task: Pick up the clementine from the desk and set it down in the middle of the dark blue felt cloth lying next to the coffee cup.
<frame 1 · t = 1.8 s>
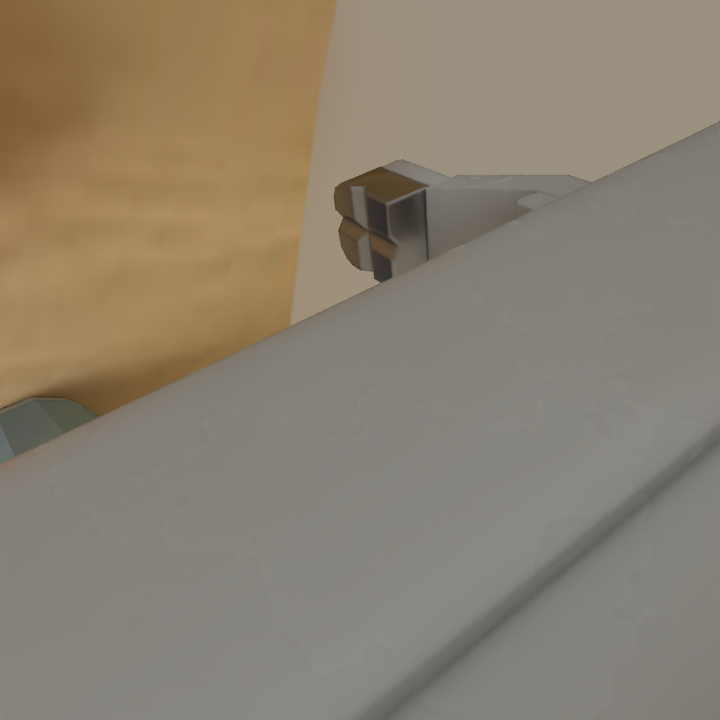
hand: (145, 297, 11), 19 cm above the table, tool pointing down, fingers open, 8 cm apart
disposable coffee cup: (40, 444, 33), on the table
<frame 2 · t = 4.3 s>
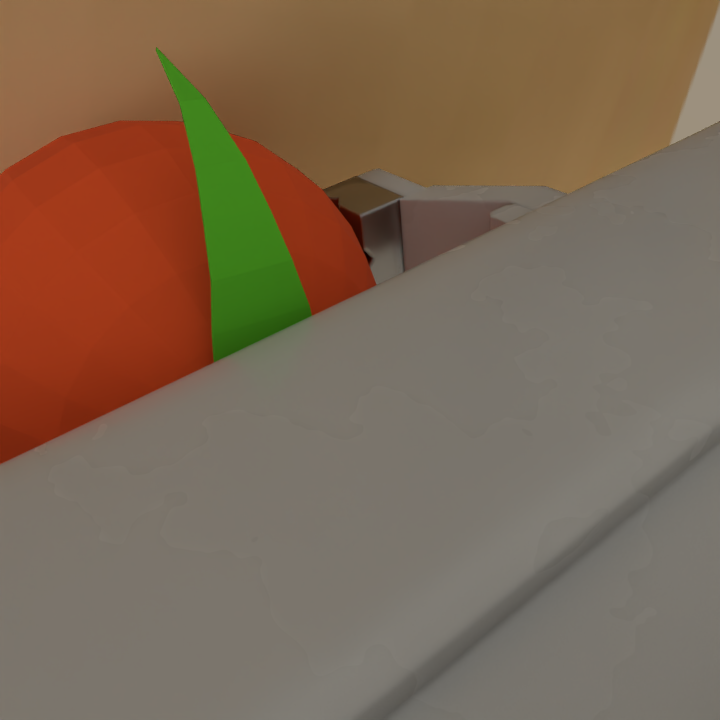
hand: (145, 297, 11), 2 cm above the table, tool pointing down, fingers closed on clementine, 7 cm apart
clementine: (101, 239, 13), on the table, touching gripper
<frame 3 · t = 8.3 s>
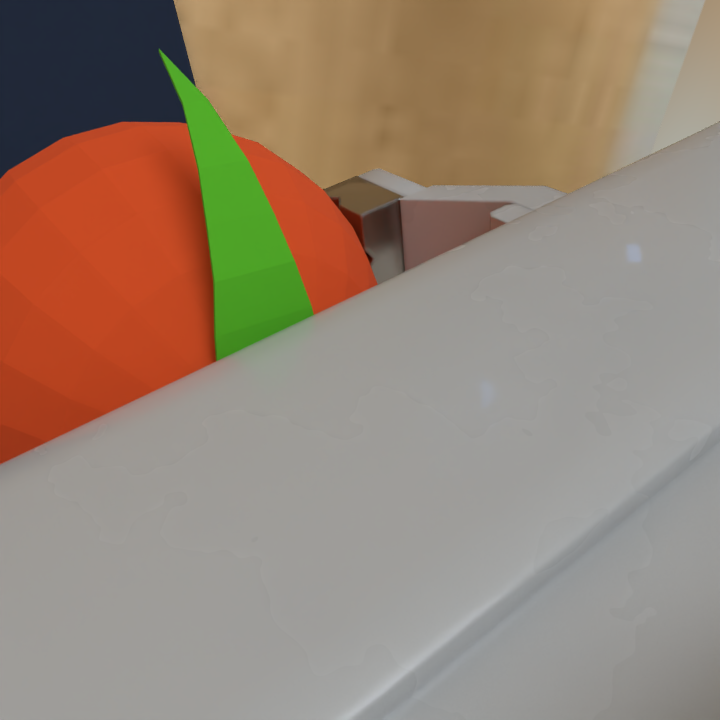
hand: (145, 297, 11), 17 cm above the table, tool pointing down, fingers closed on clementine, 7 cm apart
clementine: (103, 240, 13), point 14 cm above the table, touching gripper
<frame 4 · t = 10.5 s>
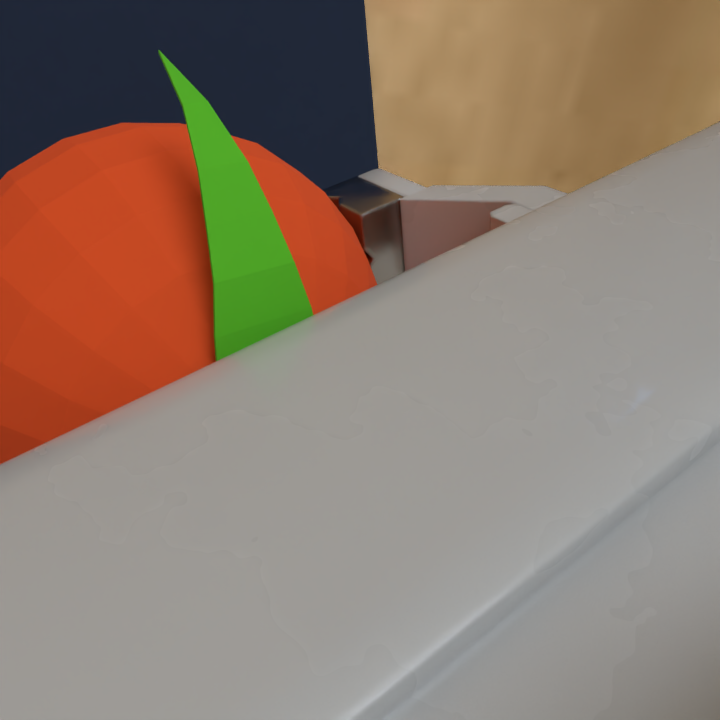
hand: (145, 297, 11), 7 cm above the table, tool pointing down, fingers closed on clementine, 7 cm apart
clementine: (103, 241, 13), point 5 cm above the table, touching gripper
cloth: (42, 175, 16), on the table
when the fingers open (3 cm above the table, at t = 12.4 s): clementine stays where it is, resting on cloth.
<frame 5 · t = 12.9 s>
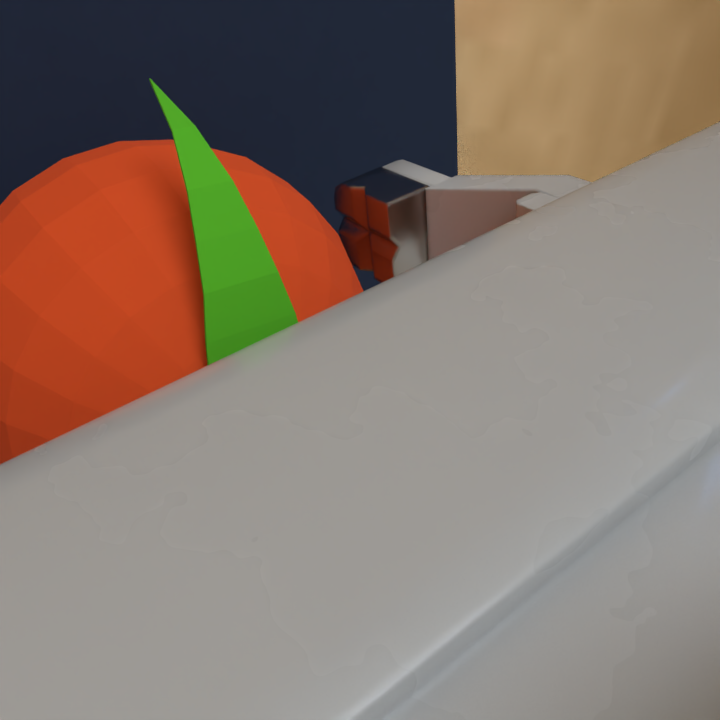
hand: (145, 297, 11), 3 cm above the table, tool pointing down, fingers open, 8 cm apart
clementine: (104, 249, 14), resting on cloth
cloth: (91, 243, 14), on the table
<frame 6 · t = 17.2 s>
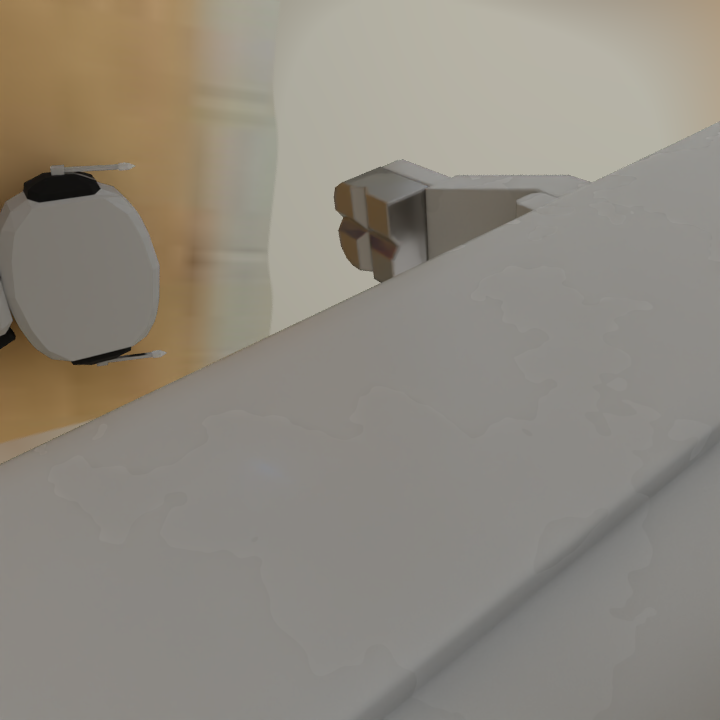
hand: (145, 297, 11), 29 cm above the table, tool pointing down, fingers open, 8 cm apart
robot toy: (9, 268, 37), on the table
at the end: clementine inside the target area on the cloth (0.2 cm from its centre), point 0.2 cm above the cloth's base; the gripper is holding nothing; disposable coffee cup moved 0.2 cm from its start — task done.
